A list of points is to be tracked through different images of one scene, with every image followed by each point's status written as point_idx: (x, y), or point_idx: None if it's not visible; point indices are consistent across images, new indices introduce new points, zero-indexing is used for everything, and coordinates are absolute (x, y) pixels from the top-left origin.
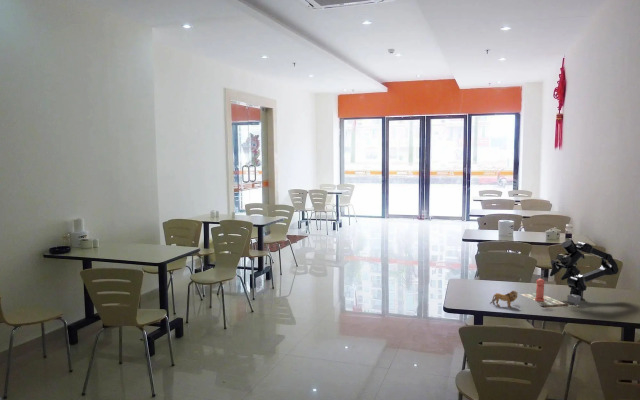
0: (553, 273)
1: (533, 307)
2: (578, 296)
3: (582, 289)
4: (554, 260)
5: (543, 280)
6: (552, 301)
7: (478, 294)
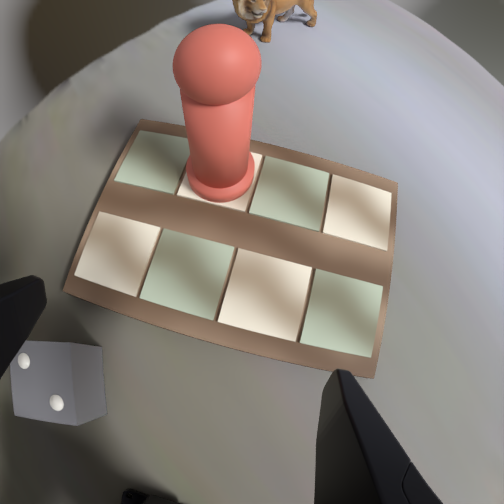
0: (329, 463)
1: None
2: (16, 390)
3: None
4: None
5: (182, 46)
6: (153, 236)
7: (443, 81)
